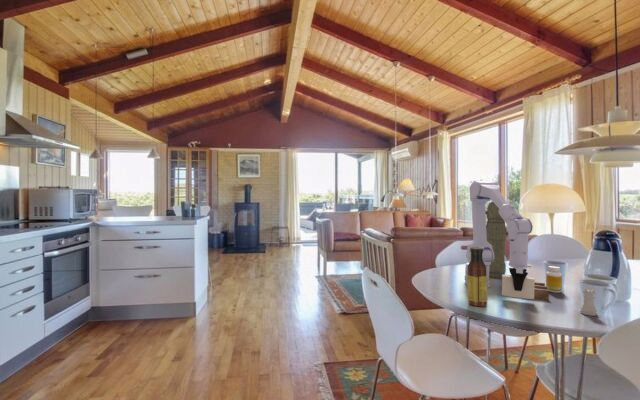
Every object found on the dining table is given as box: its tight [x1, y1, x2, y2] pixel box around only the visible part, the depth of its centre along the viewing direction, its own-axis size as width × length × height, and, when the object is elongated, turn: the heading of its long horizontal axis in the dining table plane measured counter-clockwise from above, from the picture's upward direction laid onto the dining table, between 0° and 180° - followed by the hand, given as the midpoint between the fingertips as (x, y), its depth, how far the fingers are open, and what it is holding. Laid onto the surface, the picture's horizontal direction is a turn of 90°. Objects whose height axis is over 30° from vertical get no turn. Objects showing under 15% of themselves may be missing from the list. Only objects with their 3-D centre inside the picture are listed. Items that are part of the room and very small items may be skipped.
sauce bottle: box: [467, 247, 488, 308], centre depth 122 cm, size 7×6×20 cm
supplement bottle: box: [545, 265, 563, 294], centre depth 141 cm, size 5×5×10 cm
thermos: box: [485, 201, 508, 280], centre depth 164 cm, size 9×12×35 cm
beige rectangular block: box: [501, 274, 536, 300], centre depth 126 cm, size 10×3×7 cm, turn 64°
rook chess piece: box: [580, 288, 598, 317], centre depth 114 cm, size 4×4×8 cm
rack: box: [534, 281, 550, 301], centre depth 137 cm, size 15×13×4 cm
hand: (517, 289), depth 126 cm, fingers closed on beige rectangular block, 3 cm apart
